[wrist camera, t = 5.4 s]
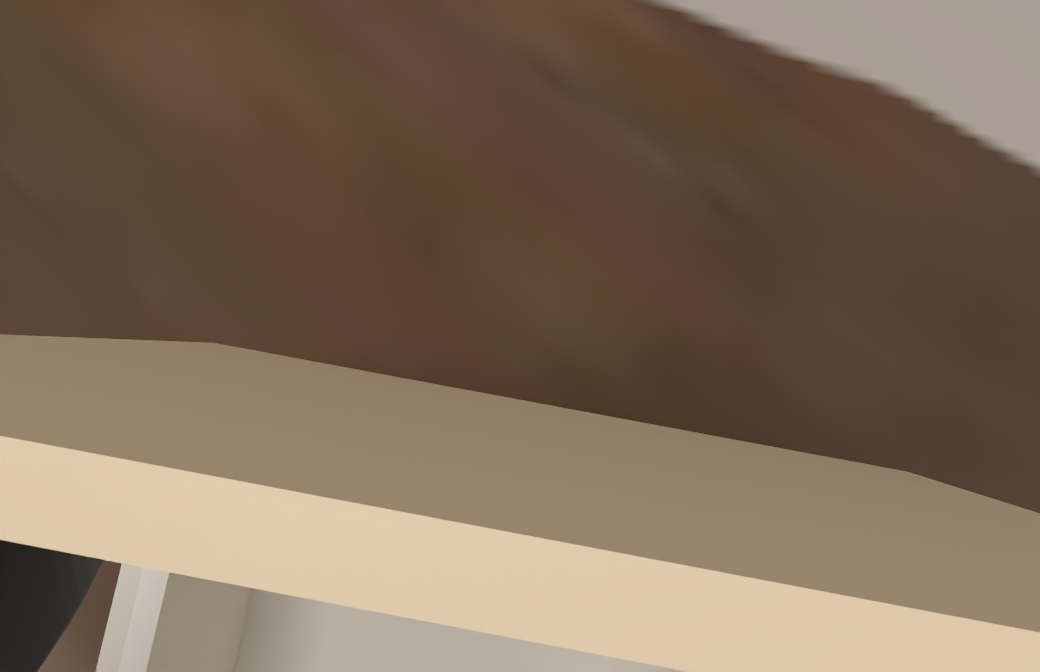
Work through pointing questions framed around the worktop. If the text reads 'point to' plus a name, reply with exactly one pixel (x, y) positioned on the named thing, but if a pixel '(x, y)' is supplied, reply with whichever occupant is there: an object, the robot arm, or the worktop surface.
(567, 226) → the worktop surface
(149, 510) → the flap
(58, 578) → the robot arm
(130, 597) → the carton
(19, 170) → the worktop surface
